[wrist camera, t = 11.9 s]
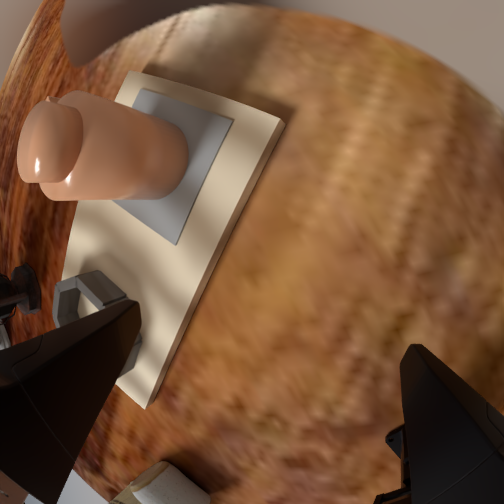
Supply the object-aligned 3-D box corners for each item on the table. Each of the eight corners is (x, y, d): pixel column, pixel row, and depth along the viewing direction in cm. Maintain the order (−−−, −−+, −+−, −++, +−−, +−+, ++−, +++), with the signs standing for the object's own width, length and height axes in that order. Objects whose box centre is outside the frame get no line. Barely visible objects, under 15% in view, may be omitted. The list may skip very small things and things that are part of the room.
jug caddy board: (152, 403, 28) (127, 423, 24) (65, 316, 32) (38, 326, 28) (285, 124, 19) (266, 104, 15) (139, 74, 23) (107, 60, 19)
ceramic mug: (172, 452, 29) (136, 489, 22) (220, 491, 27) (191, 532, 20) (142, 466, 32) (111, 494, 25) (182, 500, 31) (155, 531, 24)
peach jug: (204, 150, 20) (80, 113, 10) (156, 217, 22) (31, 227, 12) (137, 92, 21) (34, 55, 11) (100, 151, 23) (-3, 139, 13)
